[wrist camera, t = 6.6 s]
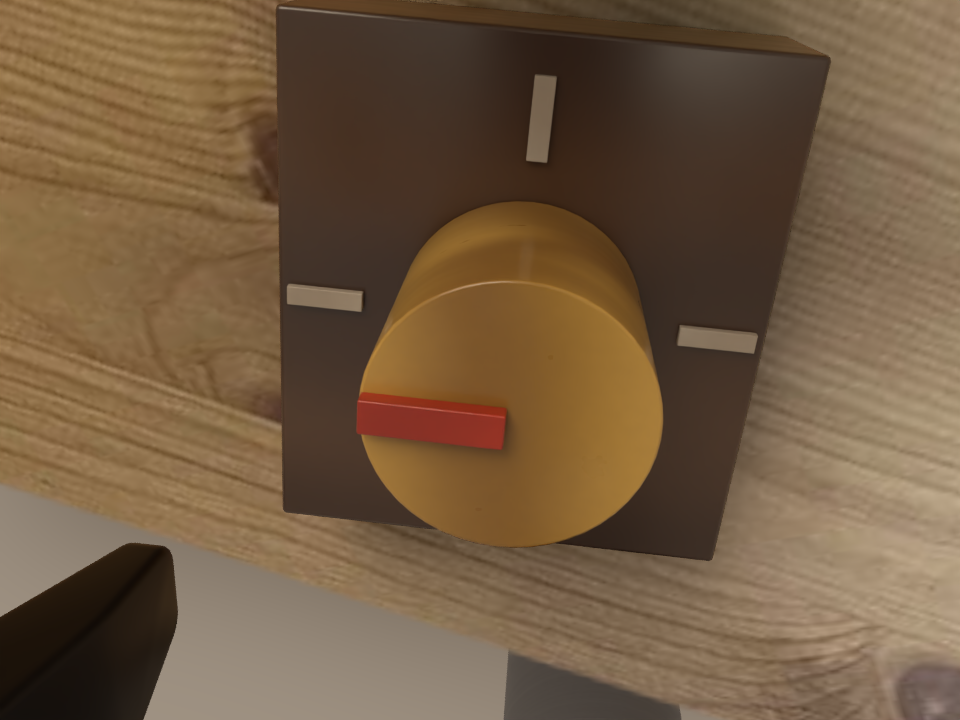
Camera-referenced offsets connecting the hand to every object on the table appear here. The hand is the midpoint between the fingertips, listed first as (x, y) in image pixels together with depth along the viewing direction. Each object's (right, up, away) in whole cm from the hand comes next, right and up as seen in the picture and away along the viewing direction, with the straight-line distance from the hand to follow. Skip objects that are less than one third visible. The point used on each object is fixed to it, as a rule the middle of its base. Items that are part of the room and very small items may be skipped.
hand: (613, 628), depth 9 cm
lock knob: (-1, +3, +8) cm, 8 cm away
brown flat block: (0, +5, +10) cm, 11 cm away
